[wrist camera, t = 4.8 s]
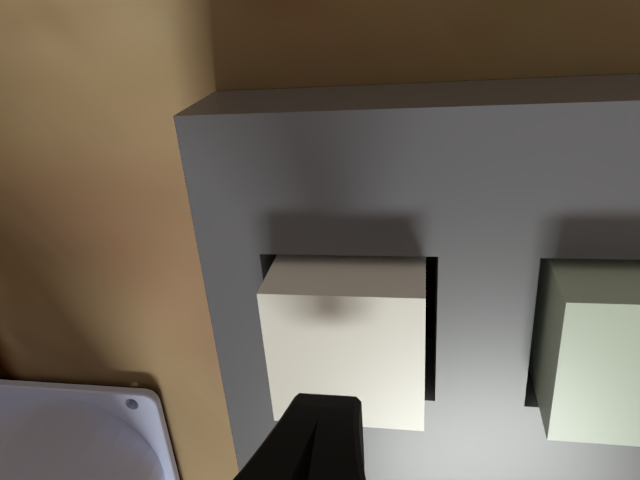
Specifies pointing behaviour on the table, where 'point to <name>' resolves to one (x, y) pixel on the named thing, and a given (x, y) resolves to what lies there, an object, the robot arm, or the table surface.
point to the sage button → (588, 350)
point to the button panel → (421, 241)
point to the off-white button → (347, 333)
